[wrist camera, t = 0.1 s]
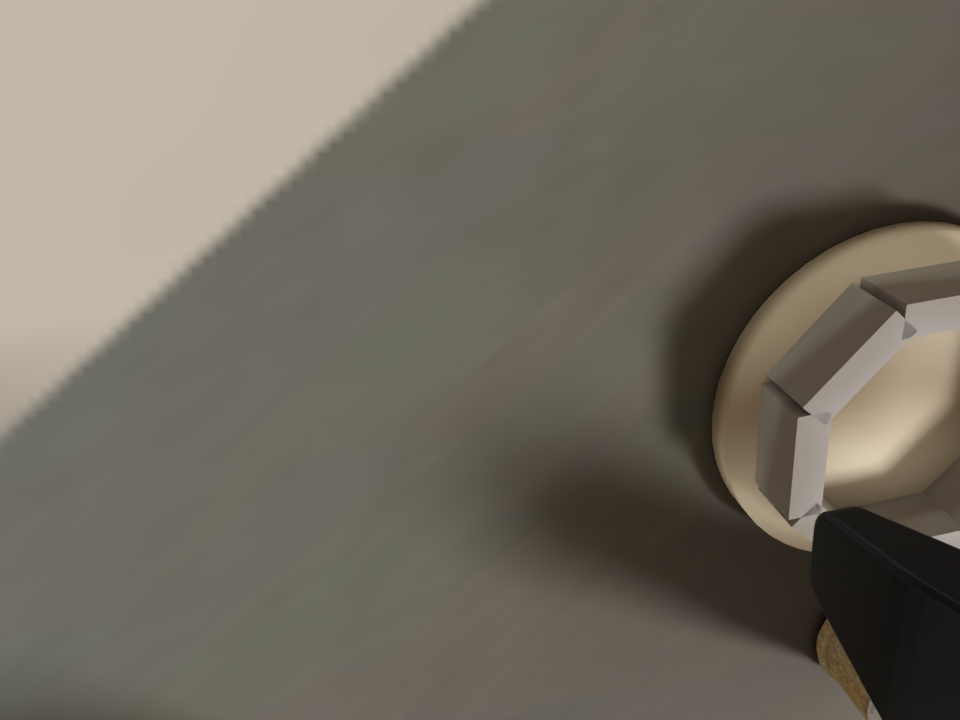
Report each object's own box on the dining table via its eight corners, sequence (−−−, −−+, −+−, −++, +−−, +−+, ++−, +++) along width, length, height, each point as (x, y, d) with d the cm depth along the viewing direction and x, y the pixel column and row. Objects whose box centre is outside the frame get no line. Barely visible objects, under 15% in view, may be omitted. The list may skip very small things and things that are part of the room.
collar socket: (1000, 500, 31) (1068, 554, 28) (705, 564, 29) (748, 628, 27) (1069, 195, 26) (1159, 226, 23) (718, 252, 24) (772, 292, 22)
